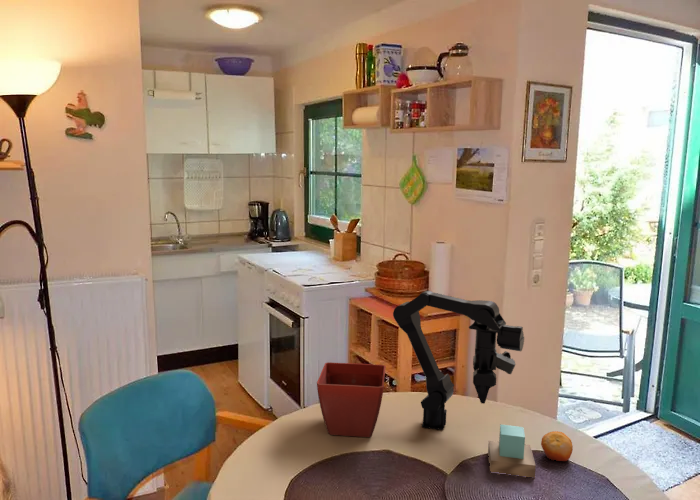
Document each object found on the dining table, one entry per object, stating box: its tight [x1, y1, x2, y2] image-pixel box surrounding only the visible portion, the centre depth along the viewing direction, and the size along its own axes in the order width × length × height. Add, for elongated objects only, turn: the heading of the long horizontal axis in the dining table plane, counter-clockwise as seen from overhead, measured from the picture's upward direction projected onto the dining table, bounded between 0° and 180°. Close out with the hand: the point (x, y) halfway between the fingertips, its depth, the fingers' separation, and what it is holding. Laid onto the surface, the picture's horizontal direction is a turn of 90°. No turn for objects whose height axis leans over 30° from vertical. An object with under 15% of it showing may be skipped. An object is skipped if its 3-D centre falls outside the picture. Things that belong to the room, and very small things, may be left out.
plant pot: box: [316, 362, 387, 438], centre depth 168 cm, size 19×19×17 cm
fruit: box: [540, 430, 574, 462], centre depth 153 cm, size 8×8×8 cm
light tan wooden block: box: [487, 440, 537, 479], centre depth 148 cm, size 11×11×4 cm
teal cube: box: [498, 424, 526, 459], centre depth 148 cm, size 6×6×6 cm
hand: (482, 397), depth 163 cm, fingers open, 9 cm apart
